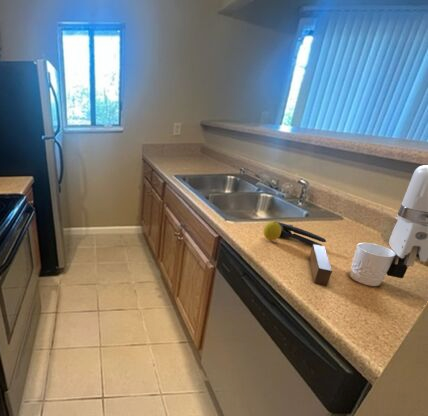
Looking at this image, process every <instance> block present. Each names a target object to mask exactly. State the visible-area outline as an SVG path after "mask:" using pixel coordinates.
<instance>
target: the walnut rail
mask: <svg viewBox="0 0 428 416" xmlns="http://www.w3.org/2000/svg"><path fill="white" fill-rule="evenodd" d="M308 258H309V263H310V269H311V274H312V278H313V283H314V284H318V285H322V286H325V287H326V286H328V284H329V282H330V278H331V276H332V273H333V269H332V266H331V263H330V260H329V257H328V254H327V251H326V247H325V245H323V246H320V245H315V244H313V246H311V250H310V253H309V255H308Z"/></svg>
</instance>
